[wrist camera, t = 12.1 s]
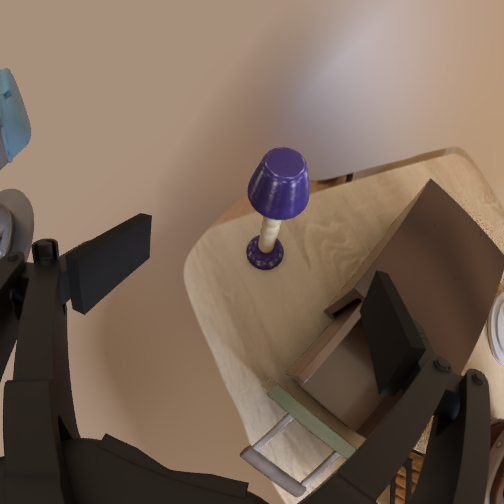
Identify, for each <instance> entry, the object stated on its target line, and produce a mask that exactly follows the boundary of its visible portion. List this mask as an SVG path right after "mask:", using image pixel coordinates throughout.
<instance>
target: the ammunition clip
mask: <svg viewBox="0 0 504 504" xmlns="http://www.w3.org/2000/svg"><path fill="white" fill-rule="evenodd" d="M424 457H425V454H422V453H420V452H418V451H416V450H414V449H413V450H412V451H411V453H410V455H409V456H408V458H407V459H406V461H405V462H404V464H403V465H402V466H401V468H400V469H399V471H398V472H397V474H396V475H395V476H394V478H393V479H392V480H391V486H390V504H410V501H411V498H412V496H413V493H414V490H415V487H416V484H417V481H418V478H419V475H420V471H421V468H422V464H423V461H424Z"/></svg>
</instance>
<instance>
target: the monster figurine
mask: <svg viewBox="0 0 504 504" xmlns="http://www.w3.org/2000/svg"><path fill="white" fill-rule="evenodd" d="M488 339H489V344H490V348H491V351H492V353H493V356H494V357H495V359H496V360H497V361H498V363H500V364H501V365H503V366H504V292H502V293H500V294H499V295H498V296H497V297H496V298H495V299H494V302H493V304H492V307H491V310H490V312H489V317H488Z"/></svg>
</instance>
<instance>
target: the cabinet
mask: <svg viewBox="0 0 504 504" xmlns="http://www.w3.org/2000/svg"><path fill="white" fill-rule="evenodd" d="M376 270H377V271H381V272H385V273H388V274H389V276H390V278H391V280H392V281H393V283H394V285H395V287H396V289H397V291H398V293H399V294H400V296H401V298H402V300H403V302H404V304H405V306H406V308H407V310H408V312H409V314H410V316H411V318H412V319H413V320H416V321H417V322H418V323H419V324H420V325H421V326H422V327H423V329H424V331H425V333H426V335H427V337H428V340H429V341H430V343H431V345H432V347H433V349H434V351H435V354H436V355H438V356H441V357H443V358H445V359H446V360H447V361H449V363H450V364H451V365H452V368H453V373H456V374H458V375H461V373H462V371H463V369H464V367H465V365H466V364H467V362H468V360H469V358H470V356H471V354H472V352H473V349H474V347H475V345H476V343H477V341H478V339H479V336H480V334H481V332H482V330H483V327H484V325H485V322H486V320H487V317H488V315H489V312H490V310H491V307H492V304H493V302H494V299H495V296H496V293H497V290H498V287H499V284H500V281H501V278H502V274H503V271H504V254H503V253H502V252H501V251H500V250H499V248H498V247H497V246H496V245H495V244H494V242H493V241H492V240H491V239H490V238H489V237H488V235H487V234H486V233H485V232H484V231H483V230H482V229H481V227H480V226H479V225H478V224H477V223H476V222H475V221H474V220H473V219H472V218H471V217H470V216H469V215H468V214H467V213H466V211H465V210H464V209H463V208H462V207H461V206H460V205H459V204H458V203H457V202H456V201H455V200H454V199H453V198H451V197H450V196H449V195H448V194H447V193H446V192H445V191H444V190H443V189H442V188H441V187H440V186H439V185H438V184H437V183H435V182H434V181H433V180H432V179H430V180H429V181H428V182H427V183H426V184H425V186H424V187H423V188H422V189H421V190H420V192H419V193H418V194H417V195H416V196H415V198H414V199H413V200H412V201H411V202H410V204H409V205H408V206H407V207H406V208H405V209H404V210H403V212H402V213H401V214H400V215H399V216H398V217H397V218H396V220H395V221H394V223H393V224H392V225H391V227H390V228H389V230H388V231H387V232H386V234H385V235H384V236H383V238H382V239H381V240H380V242H379V243H378V244H377V246H376V247H375V248H374V250H373V251H372V252H371V254H370V255H369V256H368V257H367V259H366V260H365V261H364V263H363V264H362V265H361V266H360V268H359V269H358V270H357V271H356V273H355V274H354V275H353V276H352V278H351V279H350V280H349V281H348V283H347V284H346V285H345V286H344V287H343V289H342V290H341V291H340V292H339V293H338V295H337V296H336V297H335V298H334V299H333V301H332V302H331V303H330V304H329V305H328V306H327V308H326V309H325V310H324V311H325V312H326V313H327V314H328V315H329V316H330V317H331V318H332V319H333V320H334V319H335V318H336V317H337V315H338V314H339V313H340V312H341V311H342V309H343V308H344V307H345V306H346V305H347V304H349V303H350V302H352V301H353V300H355V299H356V298H359V299H360V300H361V301H362V302H364V299H365V297H366V294H367V292H368V290H369V287H370V285H371V282H372V280H373V277H374V275H375V272H376Z"/></svg>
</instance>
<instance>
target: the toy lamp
mask: <svg viewBox="0 0 504 504" xmlns="http://www.w3.org/2000/svg"><path fill="white" fill-rule="evenodd" d="M248 198H249V201H250V203H251V205H252V206H253V207H254V209H255V210H256V211H257V212H258V213H260V214H261V215H263V222H262V228H261V231H260V232H261V234H260V235H258V236H256V237H254V238H253V239H252V240H251V241H250V242H249V244H248V247H247V257H248V260H249V261H250V263H251V264H252V265H253V266H255V267H256V268H259V269H262V270H268V269H272V268H274V267H276V266H277V265H278V264H279V263H280V262H281V260H282V258H283V247H282V245H281V243H280V241H279V240H278V239H277V236H278V231H279V230H280V227H281V222H282V220H287V219H291V218H294V217H296V216H297V215H299V214H300V213H301V212H302V211H303V210H304V209H305V207H306V205H307V203H308V200H309V178H308V168H307V163H306V161H305V159H304V158H303V156H302V155H301V154H300V153H298V152H297V151H295V150H293V149H290V148H285V147H282V148H281V147H279V148H275V149H272V150H270V151H269V152H268V153H267V154H266V155H265V156H264V157H263V159H262V160H261V162H260V164H259V165H258V167H257V169H256V170H255V172H254V174H253V176H252V178H251V180H250V182H249V186H248Z"/></svg>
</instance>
